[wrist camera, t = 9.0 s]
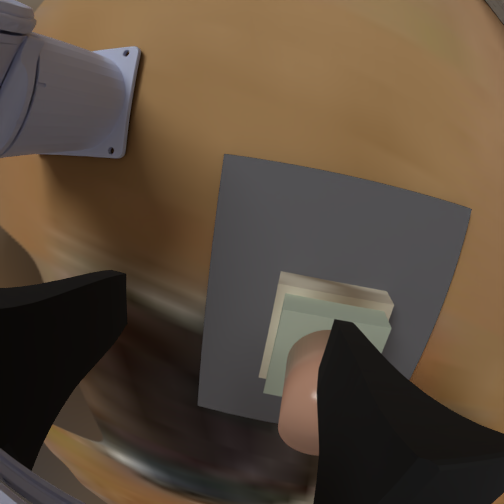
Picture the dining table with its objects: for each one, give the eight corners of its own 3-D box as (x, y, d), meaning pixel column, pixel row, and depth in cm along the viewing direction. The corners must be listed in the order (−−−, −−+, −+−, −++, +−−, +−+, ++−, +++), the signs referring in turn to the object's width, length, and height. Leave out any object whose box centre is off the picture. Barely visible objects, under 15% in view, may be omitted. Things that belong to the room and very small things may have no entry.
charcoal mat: (199, 400, 25) (197, 405, 25) (226, 154, 19) (224, 154, 18) (377, 430, 23) (377, 435, 23) (467, 207, 17) (471, 209, 17)
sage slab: (267, 373, 20) (263, 393, 18) (285, 293, 18) (282, 309, 16) (354, 387, 19) (356, 407, 17) (384, 311, 17) (391, 328, 15)
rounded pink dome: (277, 382, 18) (267, 446, 13) (299, 321, 16) (294, 383, 11) (347, 396, 17) (353, 460, 12) (376, 338, 16) (394, 400, 11)
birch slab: (262, 360, 22) (258, 377, 20) (280, 271, 20) (278, 283, 18) (355, 375, 21) (358, 393, 19) (386, 291, 19) (394, 304, 17)
